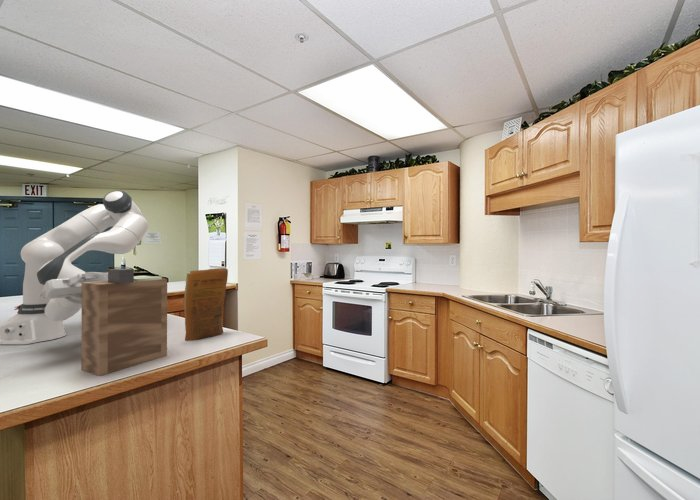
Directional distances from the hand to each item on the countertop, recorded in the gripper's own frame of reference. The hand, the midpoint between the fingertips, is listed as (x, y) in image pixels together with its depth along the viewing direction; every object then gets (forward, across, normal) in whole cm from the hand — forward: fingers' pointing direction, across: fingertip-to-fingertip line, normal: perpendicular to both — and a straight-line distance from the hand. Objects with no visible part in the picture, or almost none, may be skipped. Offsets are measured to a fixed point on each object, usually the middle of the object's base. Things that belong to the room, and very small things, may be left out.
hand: (95, 274), depth 104 cm
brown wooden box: (-5, +4, +29) cm, 30 cm away
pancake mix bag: (-7, +36, +28) cm, 46 cm away
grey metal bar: (+5, 0, +5) cm, 7 cm away
